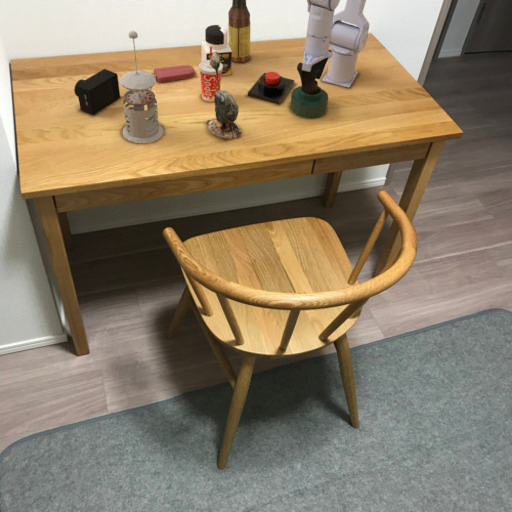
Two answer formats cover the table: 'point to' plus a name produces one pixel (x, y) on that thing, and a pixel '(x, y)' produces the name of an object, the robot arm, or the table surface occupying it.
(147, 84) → the french press
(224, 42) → the medicine bottle
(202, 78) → the beverage cup
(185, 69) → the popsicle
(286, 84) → the button box
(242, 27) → the sauce bottle
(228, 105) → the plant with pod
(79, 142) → the table surface
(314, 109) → the green stepped cylinder
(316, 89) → the brown cylinder
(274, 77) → the button
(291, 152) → the table surface
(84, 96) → the digital camera
